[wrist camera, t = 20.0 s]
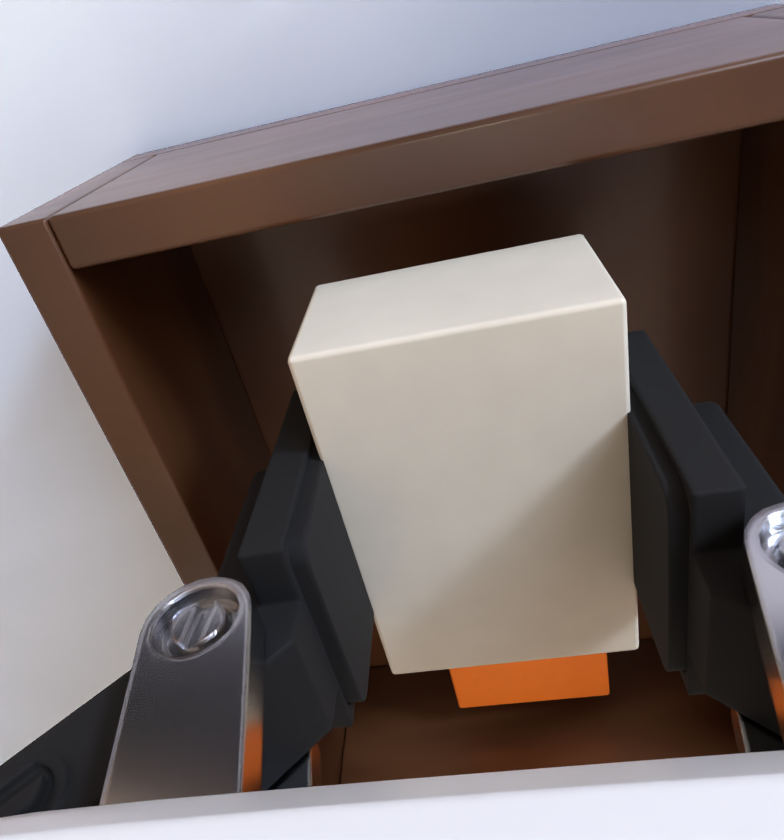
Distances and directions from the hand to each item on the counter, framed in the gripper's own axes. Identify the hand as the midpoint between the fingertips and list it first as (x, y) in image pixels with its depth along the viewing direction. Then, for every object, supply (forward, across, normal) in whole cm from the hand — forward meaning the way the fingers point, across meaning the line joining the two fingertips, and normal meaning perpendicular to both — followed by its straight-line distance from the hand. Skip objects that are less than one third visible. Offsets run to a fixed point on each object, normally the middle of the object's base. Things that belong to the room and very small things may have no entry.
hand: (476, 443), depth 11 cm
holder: (+5, 0, +4) cm, 6 cm away
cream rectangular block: (0, 0, 0) cm, 0 cm away
